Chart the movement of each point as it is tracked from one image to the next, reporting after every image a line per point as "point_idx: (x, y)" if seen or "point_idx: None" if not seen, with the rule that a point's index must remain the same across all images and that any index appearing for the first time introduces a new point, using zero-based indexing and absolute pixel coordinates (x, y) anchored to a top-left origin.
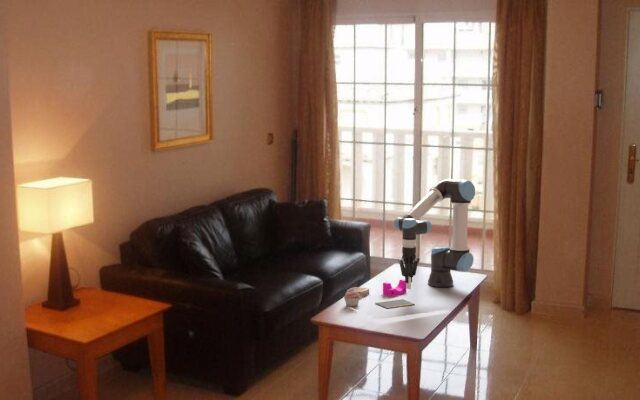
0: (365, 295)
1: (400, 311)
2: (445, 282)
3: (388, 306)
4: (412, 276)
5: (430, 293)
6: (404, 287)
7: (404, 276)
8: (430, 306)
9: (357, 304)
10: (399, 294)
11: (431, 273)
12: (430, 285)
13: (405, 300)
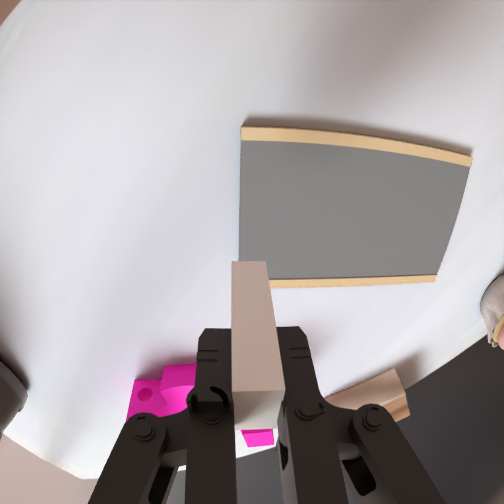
0: (355, 390)
1: (447, 49)
2: None
3: (449, 174)
4: (211, 397)
5: (28, 322)
6: (141, 403)
7: (366, 411)
8: (149, 30)
9: (501, 280)
10: (191, 368)
11: (2, 421)
12: (19, 381)
13: (243, 251)
